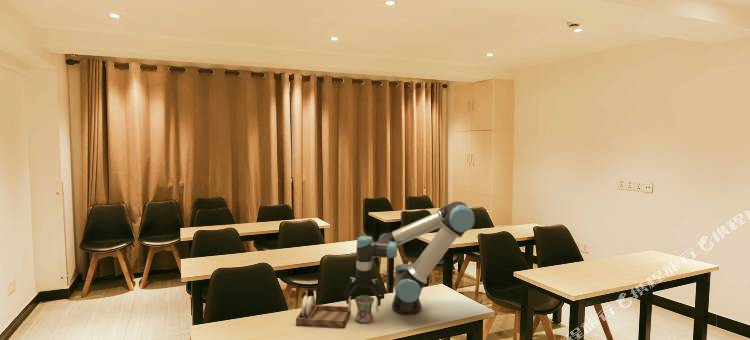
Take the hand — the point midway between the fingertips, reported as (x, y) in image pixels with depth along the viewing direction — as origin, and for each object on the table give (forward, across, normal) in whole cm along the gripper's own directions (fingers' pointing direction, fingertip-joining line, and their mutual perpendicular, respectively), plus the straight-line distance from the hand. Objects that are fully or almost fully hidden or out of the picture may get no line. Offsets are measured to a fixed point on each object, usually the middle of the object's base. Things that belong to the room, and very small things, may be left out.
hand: (363, 311), depth 215 cm
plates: (+3, +27, +3) cm, 27 cm away
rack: (+4, +19, +3) cm, 19 cm away
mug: (+4, 0, 0) cm, 4 cm away
